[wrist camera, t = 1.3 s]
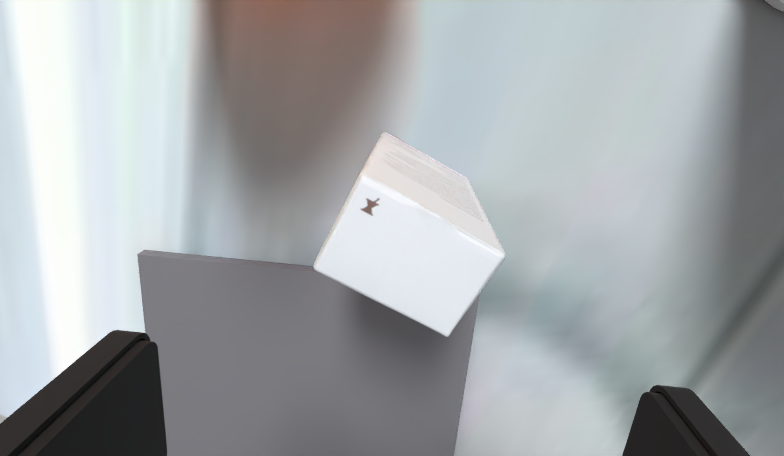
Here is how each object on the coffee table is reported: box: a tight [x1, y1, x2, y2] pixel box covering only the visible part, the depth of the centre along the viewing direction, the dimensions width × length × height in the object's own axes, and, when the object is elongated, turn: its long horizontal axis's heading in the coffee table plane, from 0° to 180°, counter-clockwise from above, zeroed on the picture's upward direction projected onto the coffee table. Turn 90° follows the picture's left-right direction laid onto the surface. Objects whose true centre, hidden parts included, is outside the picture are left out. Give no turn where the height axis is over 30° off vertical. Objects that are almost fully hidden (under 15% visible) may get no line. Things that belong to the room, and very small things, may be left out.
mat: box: [138, 250, 480, 456], centre depth 32 cm, size 22×18×1 cm
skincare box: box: [314, 132, 506, 337], centre depth 22 cm, size 6×4×12 cm
